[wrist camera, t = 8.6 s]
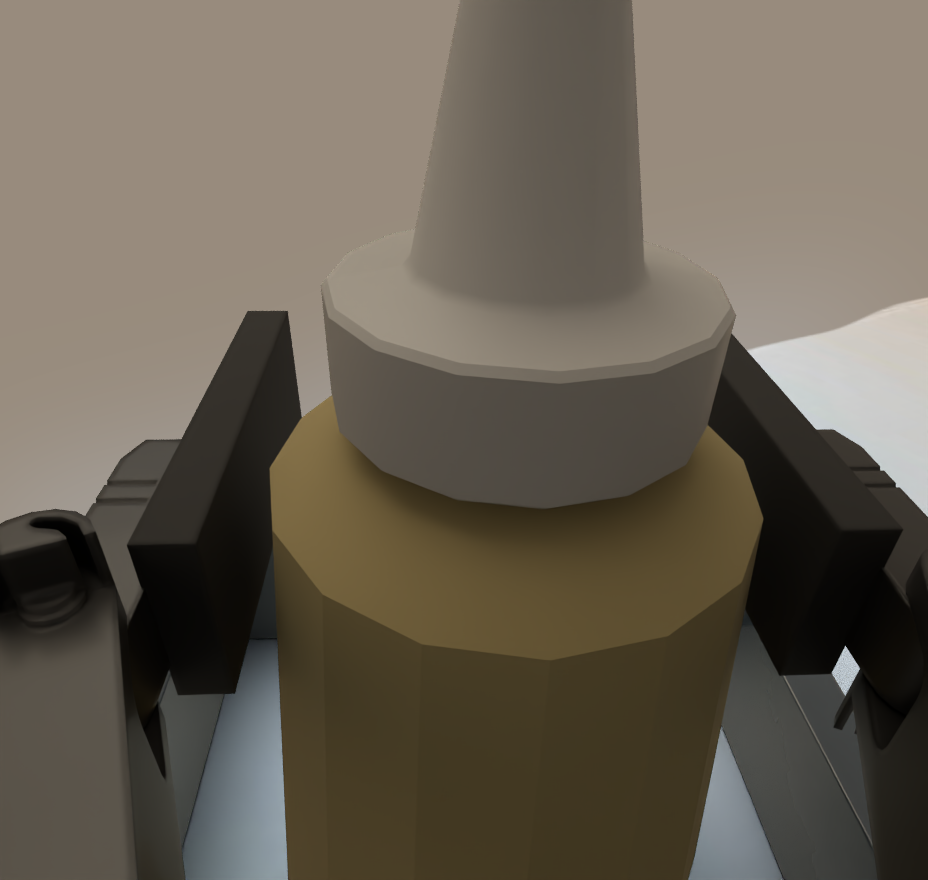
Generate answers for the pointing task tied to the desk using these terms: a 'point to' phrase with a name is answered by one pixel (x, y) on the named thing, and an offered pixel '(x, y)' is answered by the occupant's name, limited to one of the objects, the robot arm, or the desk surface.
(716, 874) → the desk surface
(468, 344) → the squeeze bottle
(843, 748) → the grey open square frame
